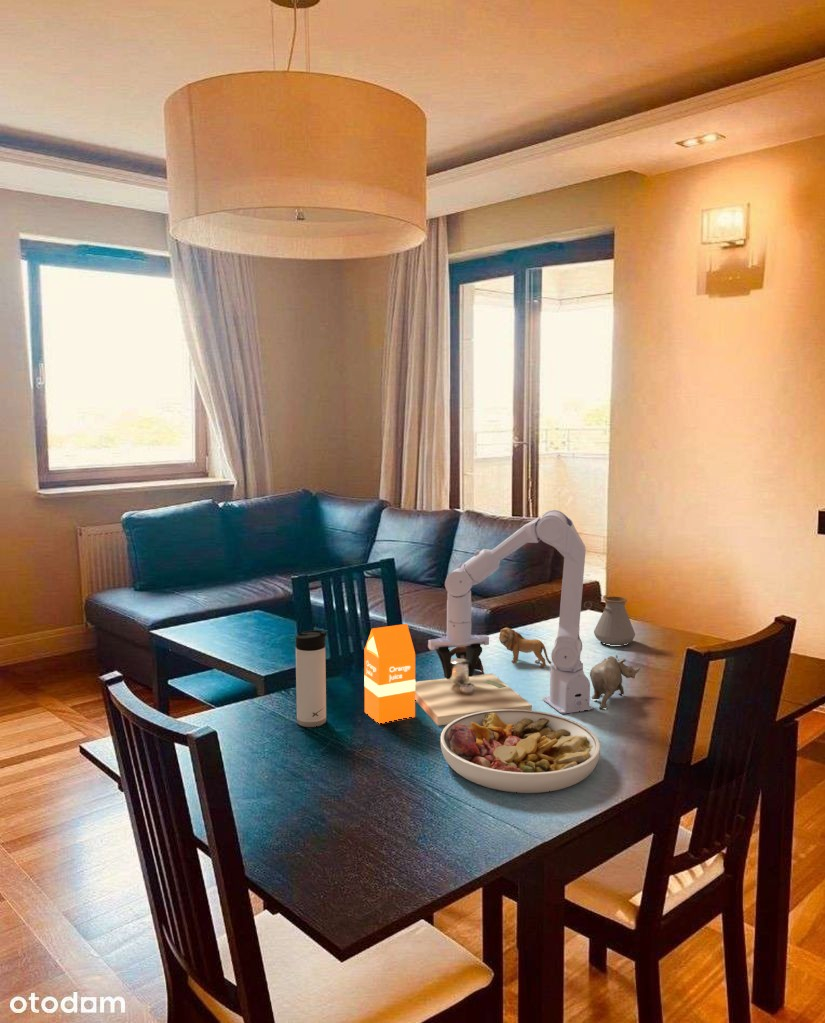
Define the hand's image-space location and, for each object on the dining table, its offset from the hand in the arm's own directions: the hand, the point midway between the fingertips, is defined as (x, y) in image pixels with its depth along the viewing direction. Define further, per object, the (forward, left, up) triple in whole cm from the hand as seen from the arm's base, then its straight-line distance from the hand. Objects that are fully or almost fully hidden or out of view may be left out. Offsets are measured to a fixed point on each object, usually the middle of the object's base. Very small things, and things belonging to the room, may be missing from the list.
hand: (458, 676), depth 190 cm
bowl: (-38, +2, -5) cm, 38 cm away
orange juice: (-8, +19, -4) cm, 21 cm away
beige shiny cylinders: (-2, 0, -2) cm, 2 cm away
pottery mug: (+13, -7, -4) cm, 15 cm away
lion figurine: (+16, -25, -4) cm, 30 cm away
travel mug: (-6, +36, -4) cm, 37 cm away
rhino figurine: (-13, -33, -4) cm, 36 cm away
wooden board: (-6, 0, -4) cm, 7 cm away
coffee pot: (+22, -53, -4) cm, 58 cm away
